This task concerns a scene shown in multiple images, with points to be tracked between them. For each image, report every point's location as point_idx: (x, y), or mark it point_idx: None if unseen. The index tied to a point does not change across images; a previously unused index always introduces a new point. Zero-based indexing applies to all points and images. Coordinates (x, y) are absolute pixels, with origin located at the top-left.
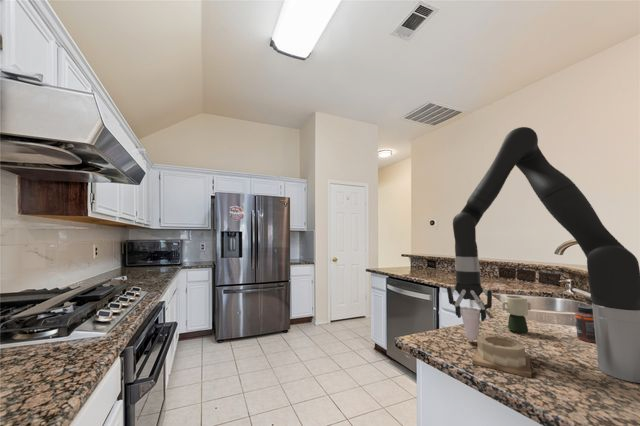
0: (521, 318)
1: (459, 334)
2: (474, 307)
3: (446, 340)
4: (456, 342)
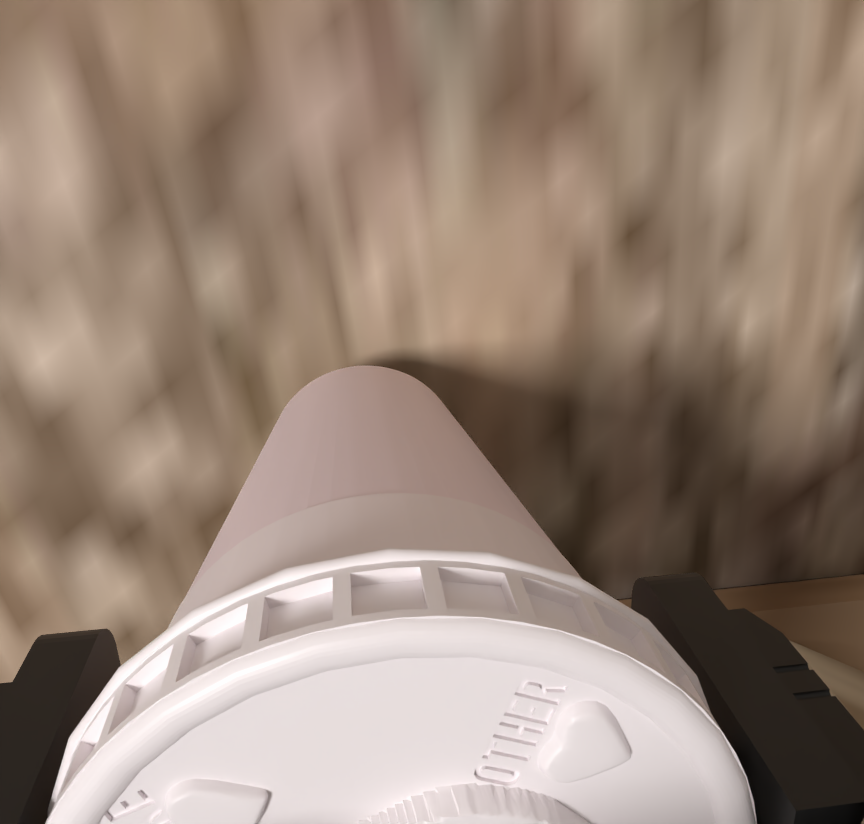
0: None
1: (64, 117)
2: (532, 658)
3: (29, 579)
4: (174, 564)
